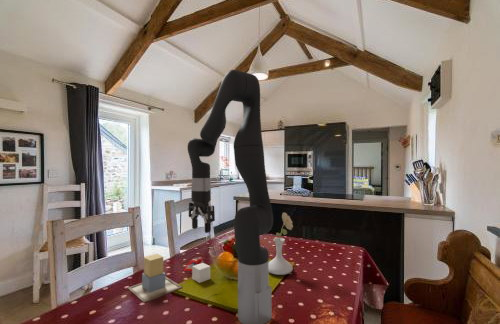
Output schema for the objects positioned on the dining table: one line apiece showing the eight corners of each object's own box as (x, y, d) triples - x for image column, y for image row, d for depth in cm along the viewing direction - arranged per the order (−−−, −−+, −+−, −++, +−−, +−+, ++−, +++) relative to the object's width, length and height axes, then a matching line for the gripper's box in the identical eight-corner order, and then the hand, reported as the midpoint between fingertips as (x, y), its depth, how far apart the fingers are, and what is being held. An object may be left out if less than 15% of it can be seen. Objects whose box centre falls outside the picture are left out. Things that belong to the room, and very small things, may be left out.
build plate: (182, 290, 92) (182, 286, 92) (144, 305, 82) (144, 301, 82) (163, 278, 102) (163, 275, 102) (127, 291, 91) (127, 287, 91)
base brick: (165, 286, 92) (165, 273, 92) (149, 292, 88) (149, 278, 88) (157, 281, 97) (157, 268, 97) (142, 287, 92) (142, 273, 92)
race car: (193, 276, 104) (193, 267, 104) (181, 275, 105) (181, 266, 105) (205, 264, 117) (205, 255, 117) (194, 263, 118) (194, 255, 118)
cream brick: (210, 281, 99) (210, 266, 99) (199, 285, 95) (199, 269, 96) (202, 277, 103) (202, 262, 103) (192, 281, 99) (192, 266, 99)
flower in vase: (279, 280, 100) (279, 217, 100) (260, 271, 108) (260, 212, 109) (300, 271, 108) (300, 213, 108) (281, 263, 117) (281, 209, 117)
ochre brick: (163, 273, 92) (163, 256, 93) (149, 277, 89) (149, 260, 89) (157, 269, 96) (157, 253, 96) (143, 273, 92) (143, 257, 92)
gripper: (183, 188, 102) (183, 229, 101) (204, 191, 92) (203, 235, 92) (198, 187, 107) (198, 225, 107) (220, 189, 97) (220, 231, 97)
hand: (201, 230), depth 99 cm, fingers open, 8 cm apart
